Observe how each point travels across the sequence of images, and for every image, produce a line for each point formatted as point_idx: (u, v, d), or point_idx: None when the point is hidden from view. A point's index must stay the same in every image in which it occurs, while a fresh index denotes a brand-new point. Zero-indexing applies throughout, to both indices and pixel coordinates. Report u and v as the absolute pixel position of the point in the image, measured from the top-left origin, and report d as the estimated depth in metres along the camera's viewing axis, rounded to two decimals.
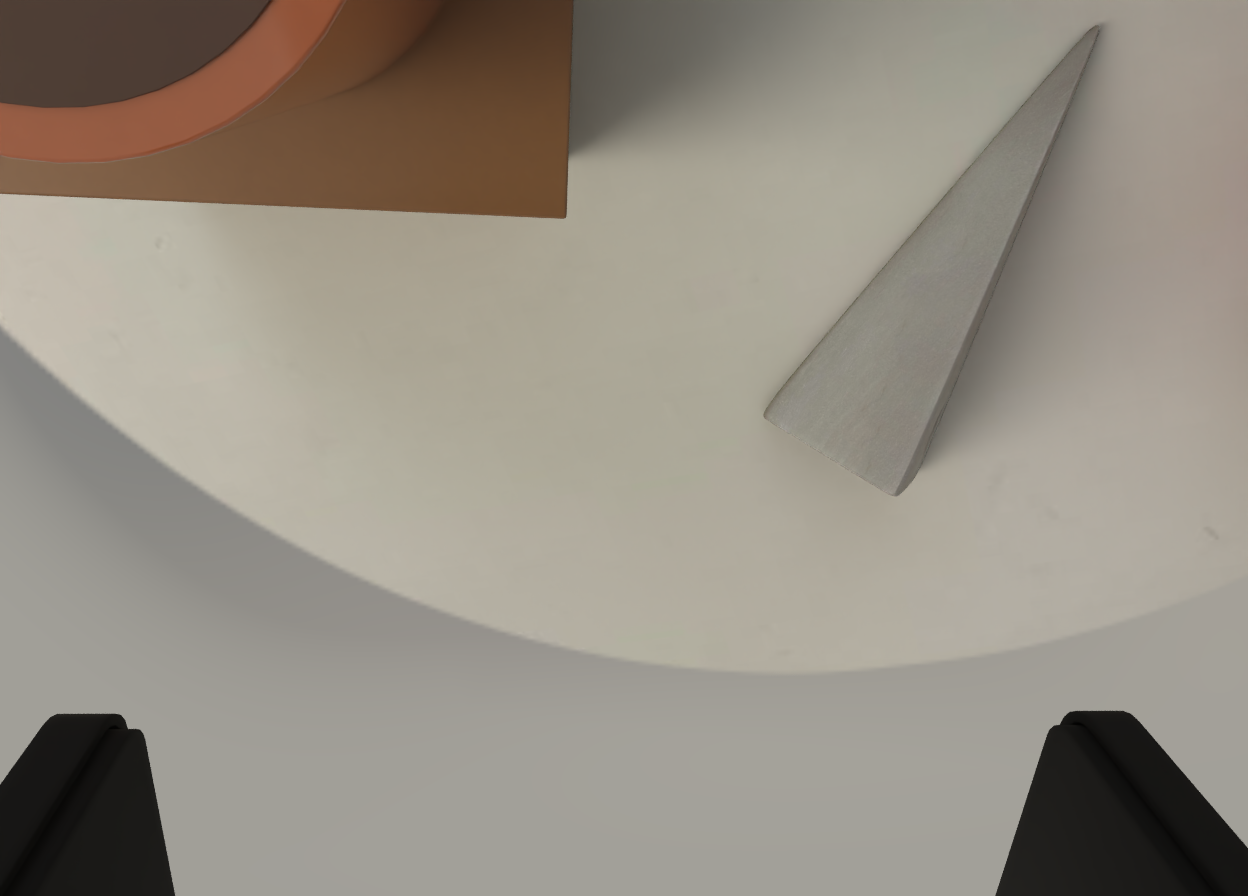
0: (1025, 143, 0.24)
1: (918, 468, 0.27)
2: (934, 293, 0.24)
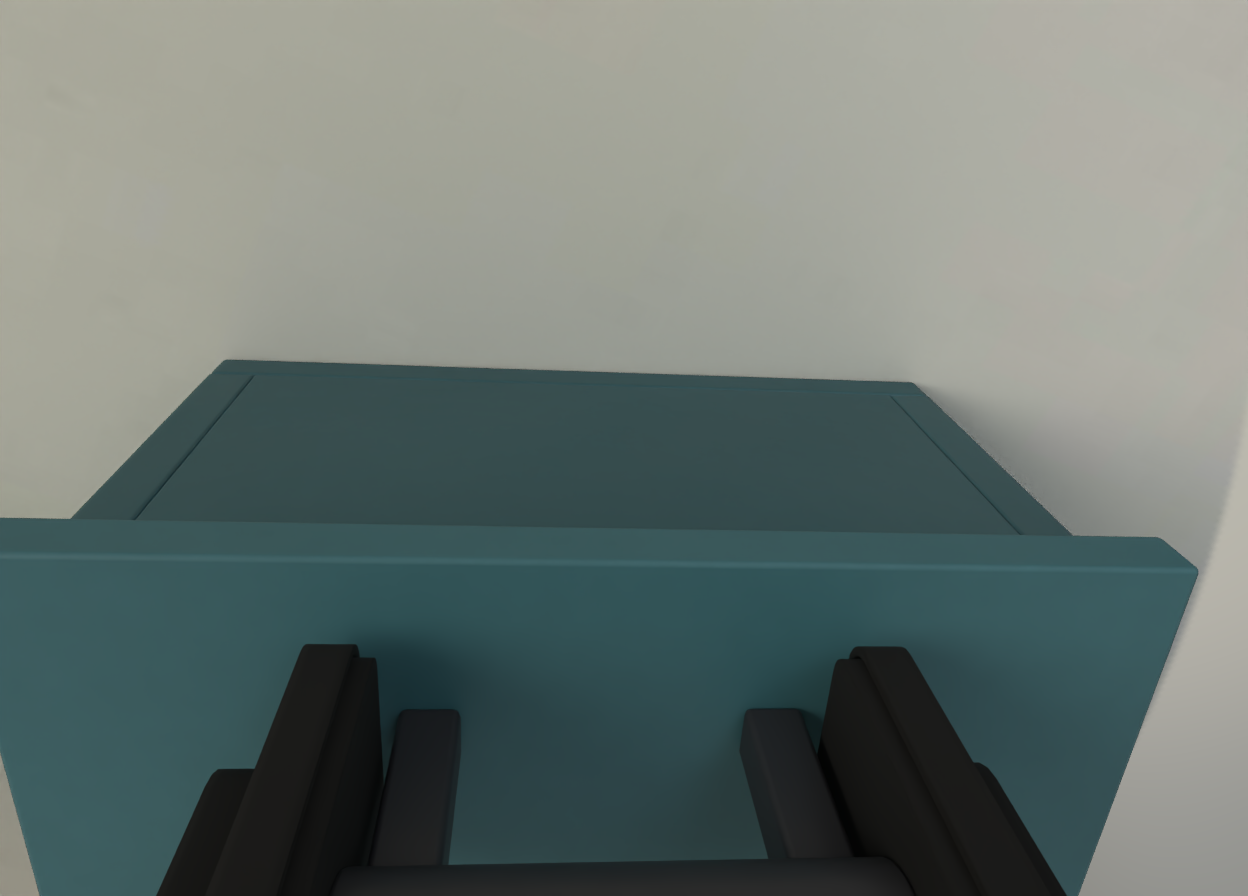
0: None
1: None
2: None
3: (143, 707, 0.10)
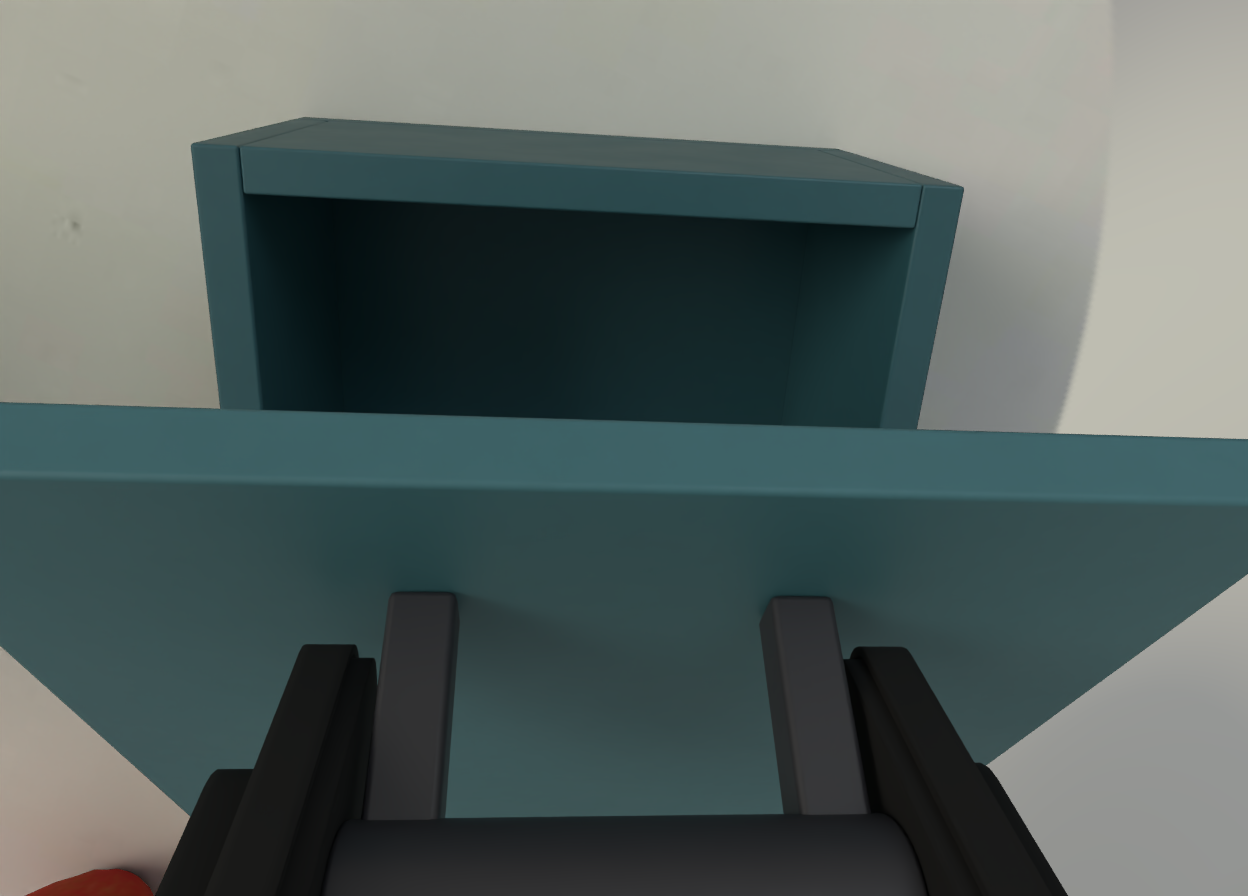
0: None
1: None
2: None
3: (104, 585, 0.09)
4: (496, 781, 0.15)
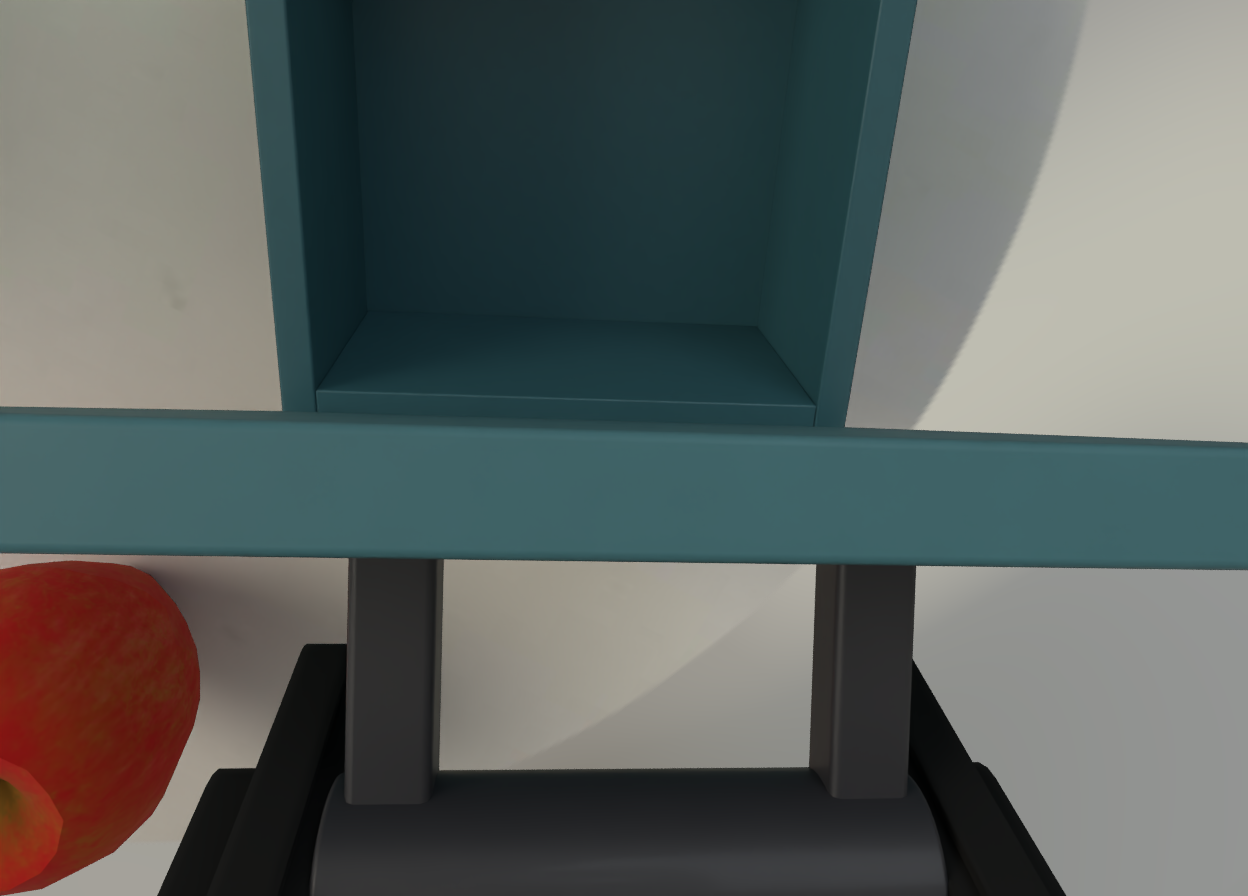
0: None
1: None
2: None
3: None
4: None
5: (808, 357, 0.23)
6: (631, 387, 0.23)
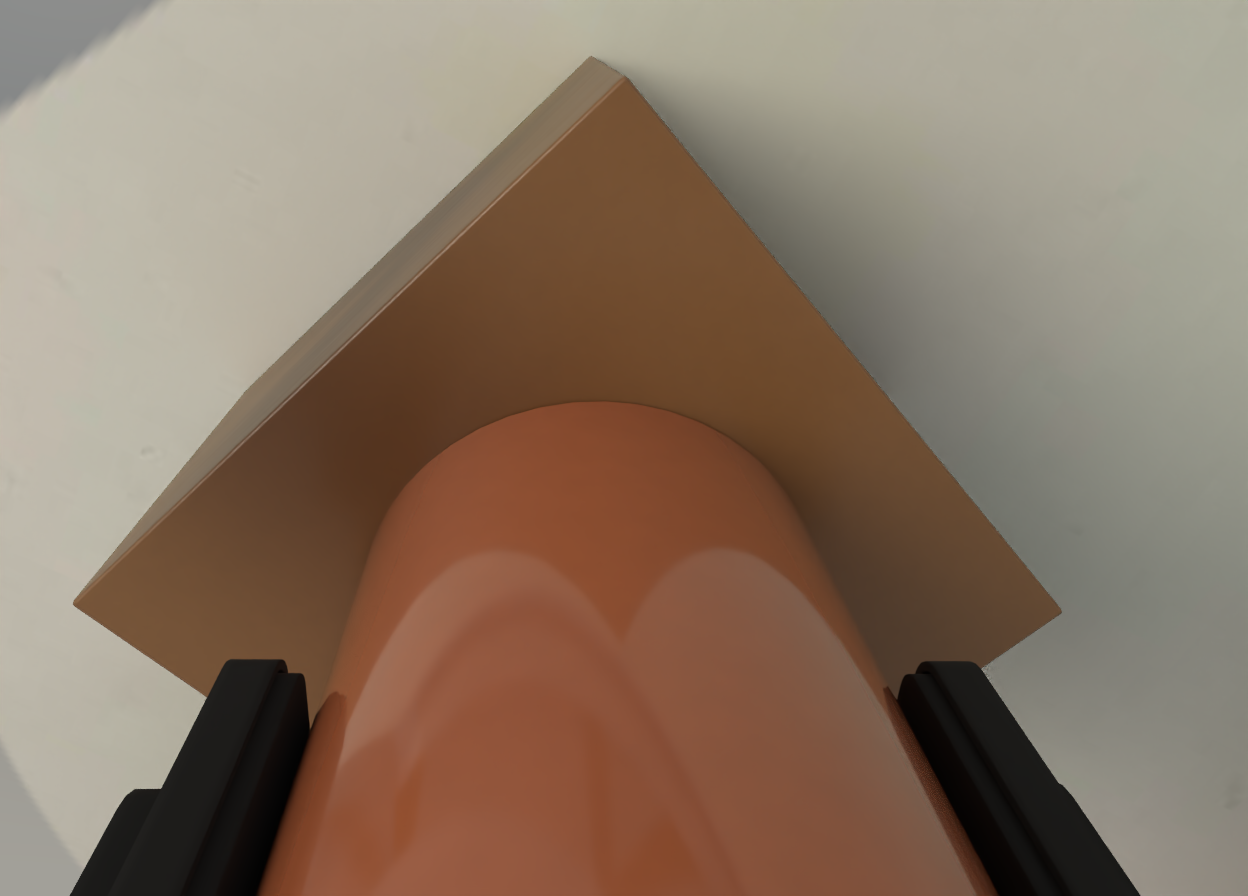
0: None
1: None
2: None
3: None
4: None
5: None
6: None
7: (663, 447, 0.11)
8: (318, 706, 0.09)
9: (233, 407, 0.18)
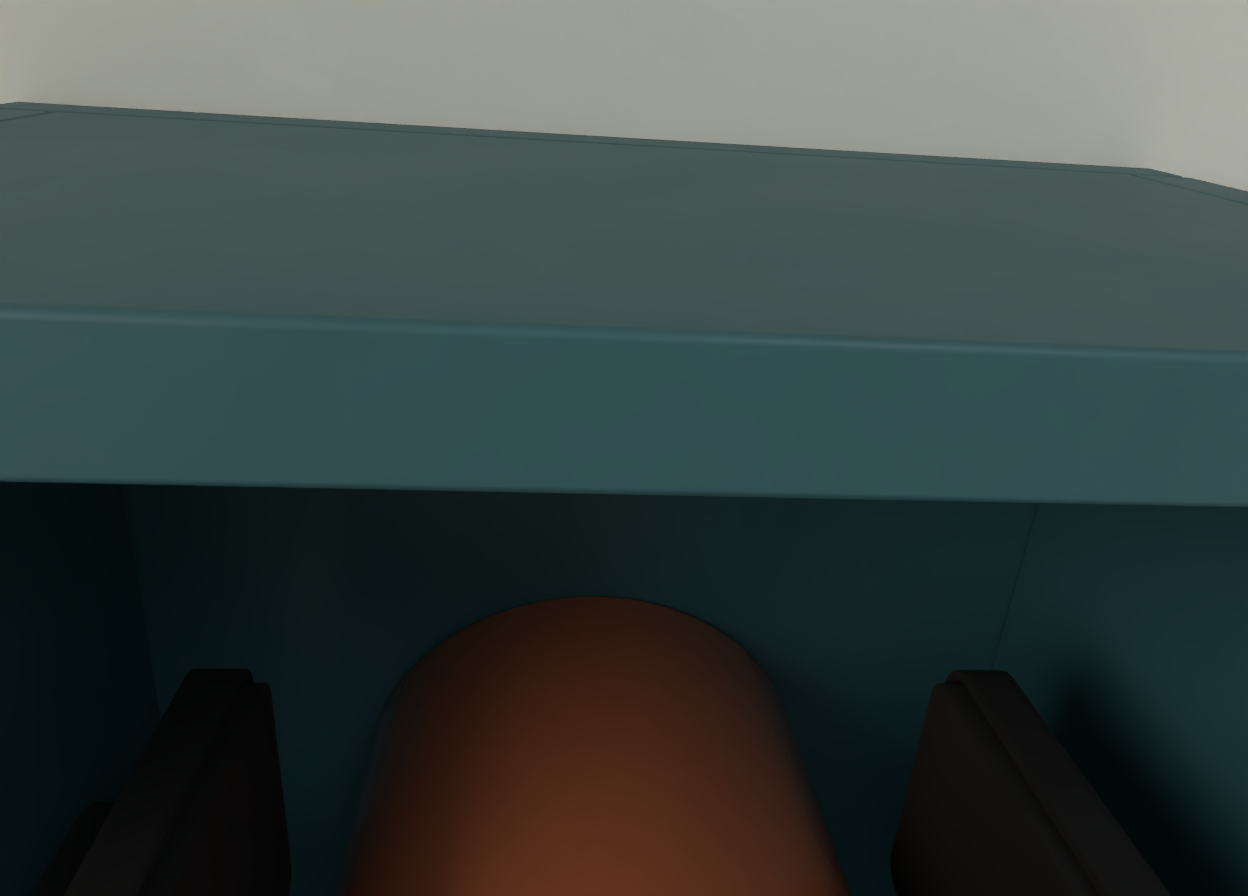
0: None
1: None
2: None
3: None
4: None
5: None
6: None
7: (691, 666, 0.12)
8: (354, 887, 0.10)
9: None
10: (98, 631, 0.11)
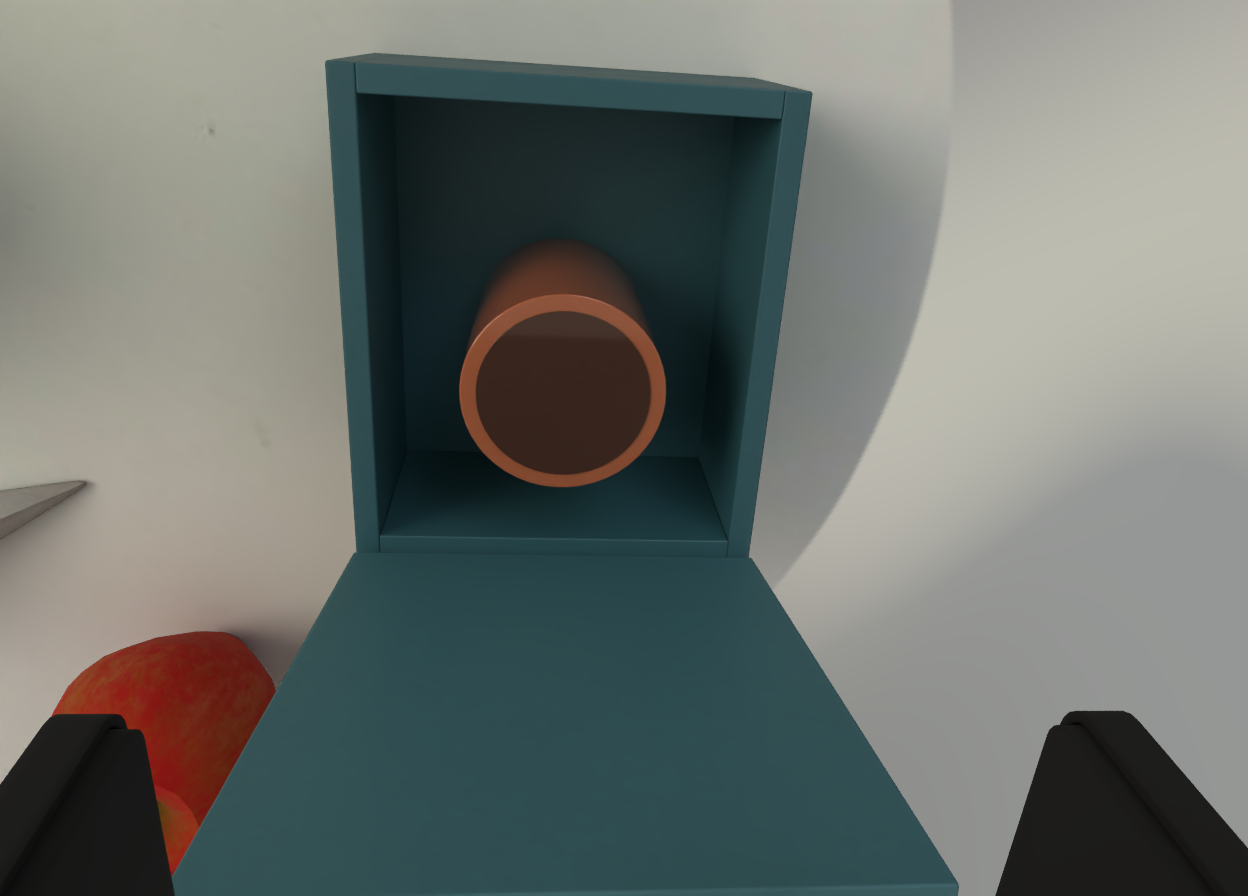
0: None
1: None
2: None
3: None
4: None
5: (724, 503, 0.33)
6: (598, 526, 0.33)
7: (595, 253, 0.33)
8: (485, 297, 0.32)
9: None
10: (394, 232, 0.33)
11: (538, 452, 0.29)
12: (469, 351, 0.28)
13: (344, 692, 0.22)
